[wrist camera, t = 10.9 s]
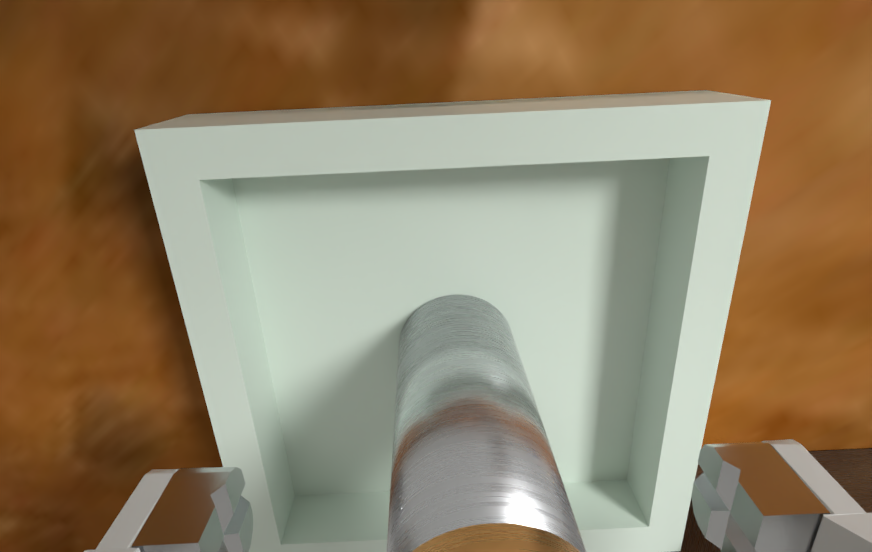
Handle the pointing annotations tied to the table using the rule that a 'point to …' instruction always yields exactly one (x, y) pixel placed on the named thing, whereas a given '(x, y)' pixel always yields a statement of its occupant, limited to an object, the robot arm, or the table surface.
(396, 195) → the tray
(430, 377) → the lock pin
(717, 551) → the grey stepped block
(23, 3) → the table surface
